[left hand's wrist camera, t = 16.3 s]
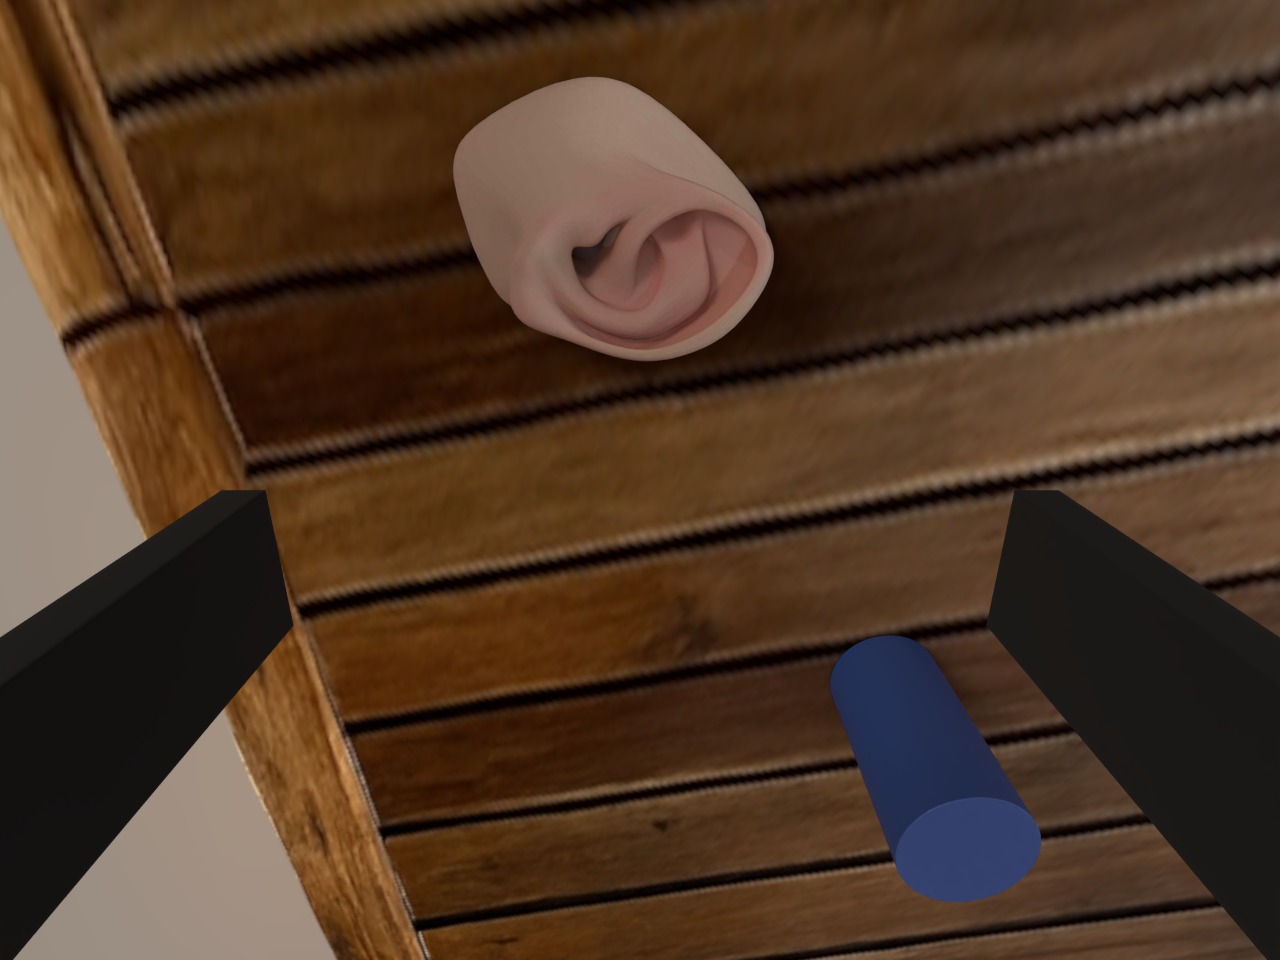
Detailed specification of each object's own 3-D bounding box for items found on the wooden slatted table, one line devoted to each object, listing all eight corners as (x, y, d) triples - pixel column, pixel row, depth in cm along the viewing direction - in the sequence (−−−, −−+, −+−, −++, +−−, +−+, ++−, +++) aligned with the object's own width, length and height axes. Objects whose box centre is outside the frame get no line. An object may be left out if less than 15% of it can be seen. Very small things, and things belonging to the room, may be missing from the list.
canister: (908, 617, 39) (1008, 775, 28) (953, 692, 41) (1063, 868, 30) (811, 666, 40) (871, 835, 29) (858, 736, 42) (931, 920, 31)
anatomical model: (377, 192, 27) (599, -37, 24) (409, 193, 31) (605, -5, 28) (601, 440, 31) (816, 267, 28) (606, 415, 35) (796, 259, 32)
